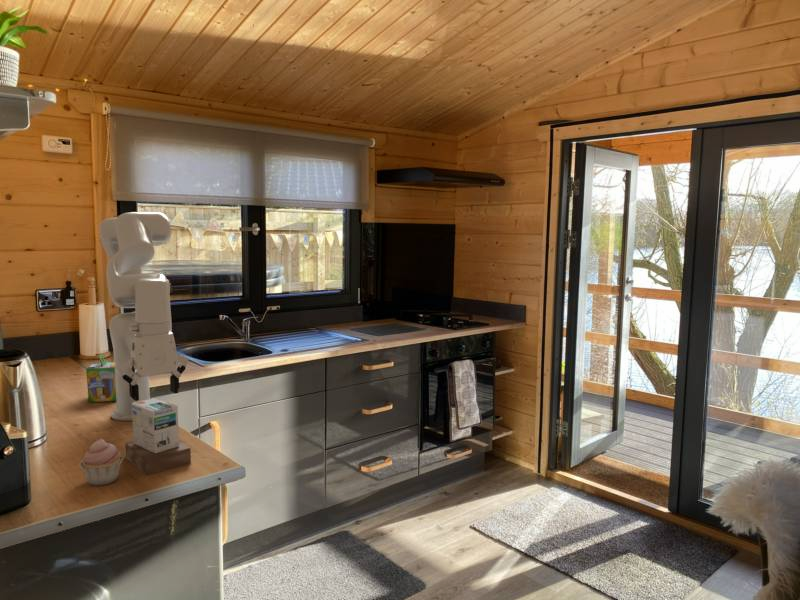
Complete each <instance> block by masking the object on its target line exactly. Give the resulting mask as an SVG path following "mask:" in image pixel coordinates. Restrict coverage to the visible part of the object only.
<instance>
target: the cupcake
mask: <svg viewBox="0 0 800 600" xmlns="http://www.w3.org/2000/svg"><path fill="white" fill-rule="evenodd" d="M124 459H125V457H124V456H121V453H120V450H119V449H117V447H116V445H114V444H112V443H109V442H106V441H105V440H104V439H102V438H100V439H98V440H96V441H95V442H92V444H91V445H90V446H89V448H88V450H87V451H86V452H85V453H84V456H83V459H82V460H81V462H80V463H79V464H78V465H79V466H80V468H81V470H82V471H83V472H84V476H85V478H86V481H87V484H88V485H91V486H95V487H97V486H106V485H108V484H112V483H114V482H115V481H117V480H118V476H119V472H120V468H121V465H122V462H123V461H124Z"/></svg>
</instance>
